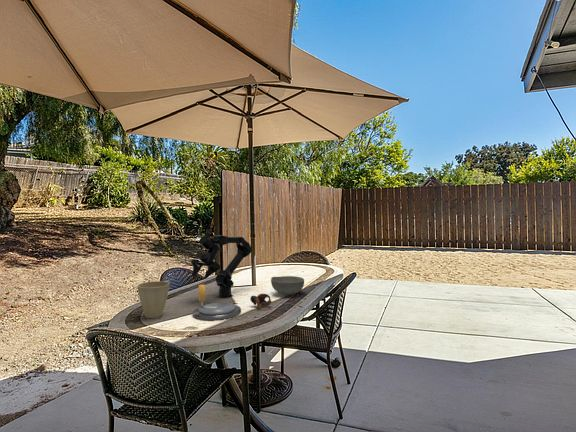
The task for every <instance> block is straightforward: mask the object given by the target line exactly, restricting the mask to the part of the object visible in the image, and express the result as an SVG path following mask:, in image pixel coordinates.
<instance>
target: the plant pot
mask: <svg viewBox="0 0 576 432" xmlns="http://www.w3.org/2000/svg"><path fill="white" fill-rule="evenodd" d="M136 287H137V292H138V293H137V294H138V297H139V298H138V299H139V301H140V305H141V307H142V310H143V313H144V315H145V317H146V318H147V319H156V318H160V317H161V316H162V315H163V313H164V310H165V307H166V303H167V300H168V295H169V288H170V282H168V281H164V280H163V281H162V280H158V281H147V282H141V283H139V284H138V285H137V286H136Z"/></svg>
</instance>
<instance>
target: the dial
mask: <svg viewBox="0 0 576 432" xmlns="http://www.w3.org/2000/svg"><path fill="white" fill-rule="evenodd" d="M205 301H206V284H198V302H200V305H201V306H199V307H200V308H199V313H200V314H203V315H210V316H215V315H224V314H228V313H231V312H233V311H234V310H235V306H234V305H235V304H234V303H229V302H212V303H207V304H205V305H204V302H205Z"/></svg>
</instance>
